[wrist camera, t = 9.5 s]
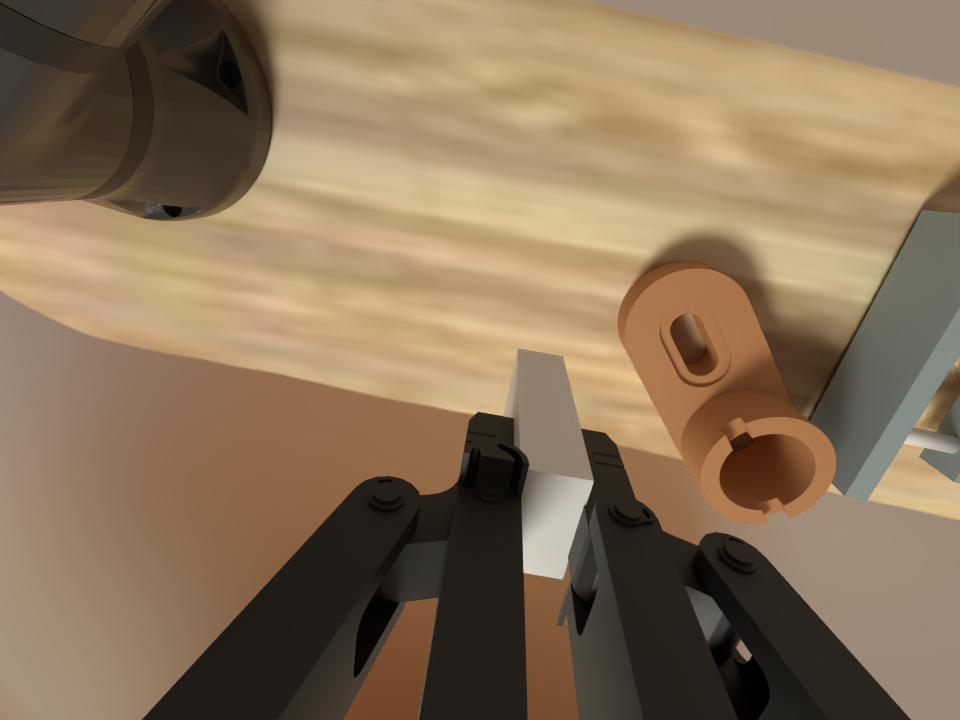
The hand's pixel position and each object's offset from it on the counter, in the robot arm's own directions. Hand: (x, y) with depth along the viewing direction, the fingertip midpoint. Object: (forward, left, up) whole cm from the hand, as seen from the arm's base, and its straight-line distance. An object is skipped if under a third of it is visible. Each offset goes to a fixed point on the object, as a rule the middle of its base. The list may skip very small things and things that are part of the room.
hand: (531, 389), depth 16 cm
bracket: (+15, +2, -20) cm, 25 cm away
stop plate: (+25, +12, -19) cm, 34 cm away
